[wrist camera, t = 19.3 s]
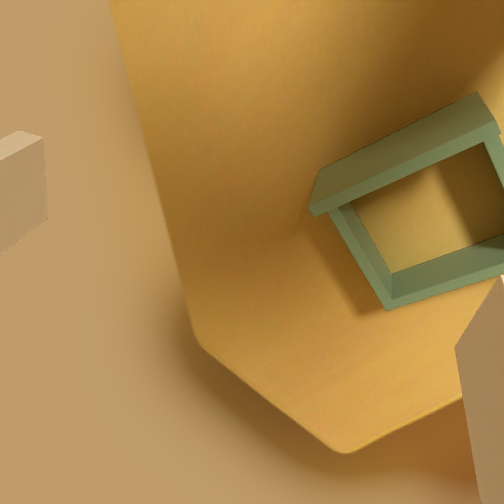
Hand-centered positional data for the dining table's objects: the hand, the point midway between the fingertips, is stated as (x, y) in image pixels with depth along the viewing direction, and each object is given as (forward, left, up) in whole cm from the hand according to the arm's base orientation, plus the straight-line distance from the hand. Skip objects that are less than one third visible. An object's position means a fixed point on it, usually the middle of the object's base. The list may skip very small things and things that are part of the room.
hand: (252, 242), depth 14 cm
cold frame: (+18, 0, -37) cm, 41 cm away
